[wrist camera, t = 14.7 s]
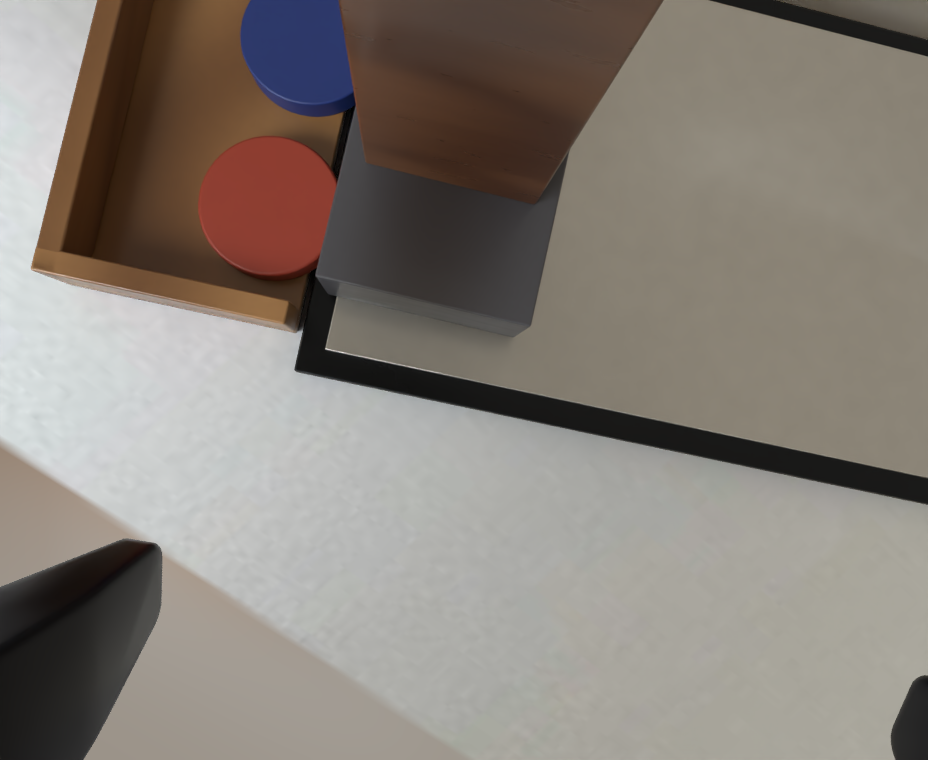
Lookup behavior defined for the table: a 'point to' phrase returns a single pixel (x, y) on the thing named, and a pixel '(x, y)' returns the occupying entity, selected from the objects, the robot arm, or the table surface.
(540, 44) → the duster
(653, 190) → the whiteboard
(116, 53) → the tray
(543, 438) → the table surface
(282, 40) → the disc
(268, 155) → the disc
